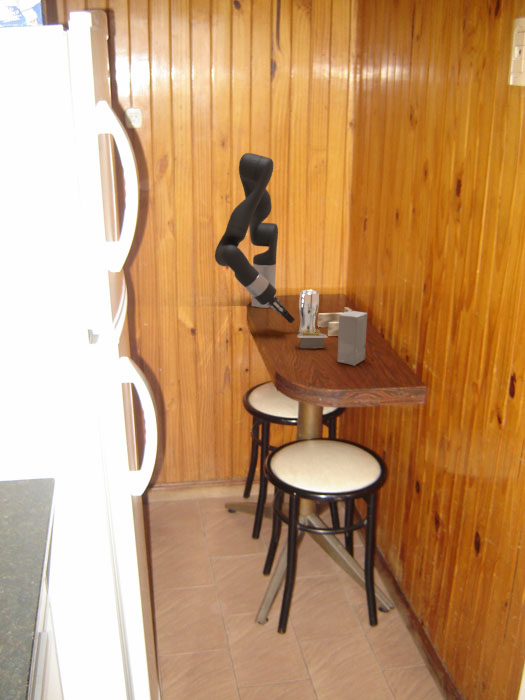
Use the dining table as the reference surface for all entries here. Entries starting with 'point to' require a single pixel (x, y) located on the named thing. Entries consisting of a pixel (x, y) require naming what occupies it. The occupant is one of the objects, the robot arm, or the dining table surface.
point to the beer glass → (308, 309)
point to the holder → (330, 321)
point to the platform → (311, 338)
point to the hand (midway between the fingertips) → (292, 321)
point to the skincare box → (352, 337)
